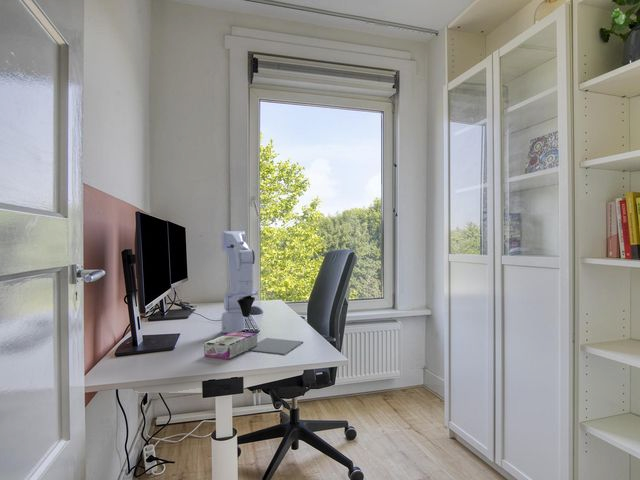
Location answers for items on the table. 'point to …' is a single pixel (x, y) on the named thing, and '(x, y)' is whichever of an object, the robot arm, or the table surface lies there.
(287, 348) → the charcoal mat
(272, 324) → the table surface
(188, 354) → the table surface
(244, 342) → the candy bar box
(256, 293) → the robot arm
